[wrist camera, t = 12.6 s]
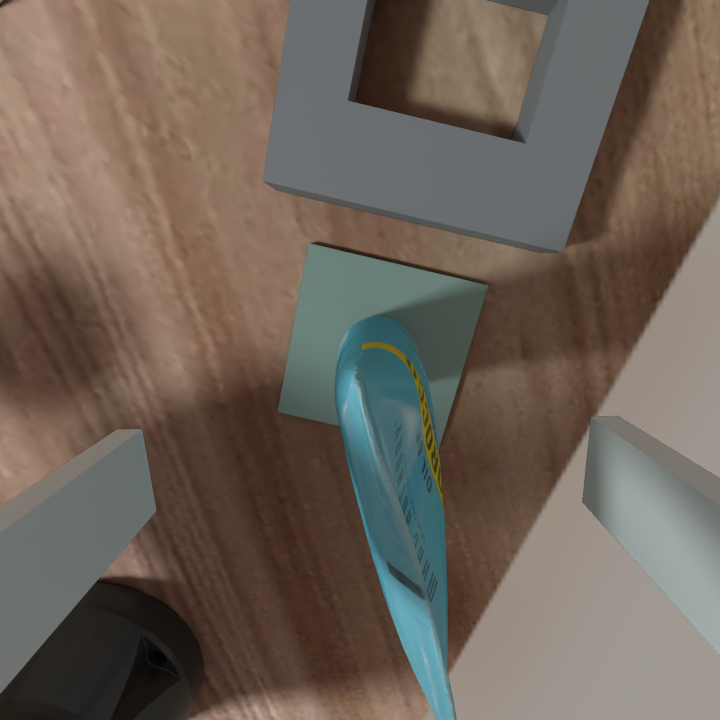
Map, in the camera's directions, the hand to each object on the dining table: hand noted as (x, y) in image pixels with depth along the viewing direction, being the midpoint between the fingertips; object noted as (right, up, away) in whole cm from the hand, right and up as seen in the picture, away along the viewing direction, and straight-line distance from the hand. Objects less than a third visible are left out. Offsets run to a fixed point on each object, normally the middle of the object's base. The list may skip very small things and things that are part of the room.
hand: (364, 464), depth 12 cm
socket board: (+5, +19, +10) cm, 22 cm away
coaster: (+1, +4, +14) cm, 14 cm away
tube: (+1, +4, +14) cm, 14 cm away
